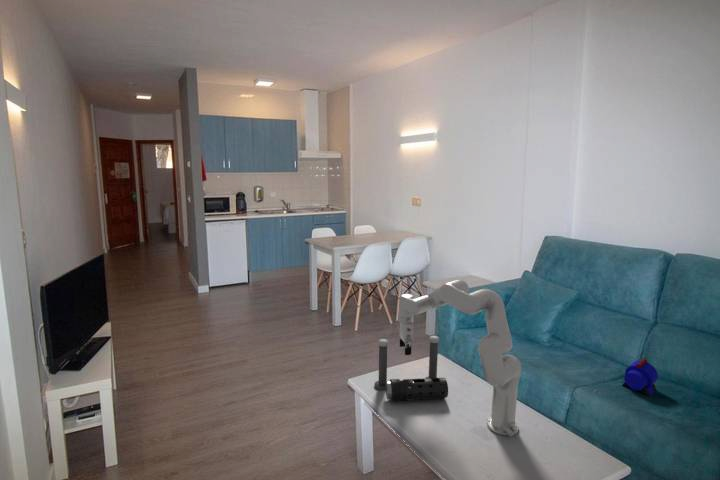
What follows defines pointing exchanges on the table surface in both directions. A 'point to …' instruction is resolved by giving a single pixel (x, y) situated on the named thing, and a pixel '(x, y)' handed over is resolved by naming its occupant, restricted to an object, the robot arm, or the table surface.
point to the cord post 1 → (382, 365)
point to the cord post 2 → (433, 357)
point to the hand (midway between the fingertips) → (405, 350)
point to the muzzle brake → (416, 389)
